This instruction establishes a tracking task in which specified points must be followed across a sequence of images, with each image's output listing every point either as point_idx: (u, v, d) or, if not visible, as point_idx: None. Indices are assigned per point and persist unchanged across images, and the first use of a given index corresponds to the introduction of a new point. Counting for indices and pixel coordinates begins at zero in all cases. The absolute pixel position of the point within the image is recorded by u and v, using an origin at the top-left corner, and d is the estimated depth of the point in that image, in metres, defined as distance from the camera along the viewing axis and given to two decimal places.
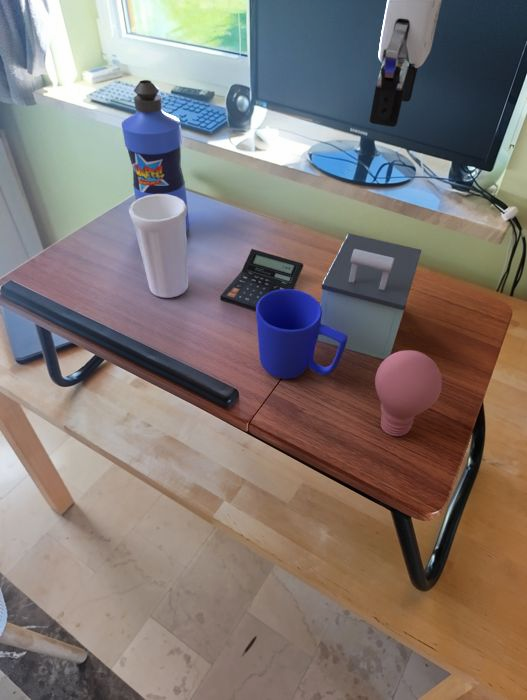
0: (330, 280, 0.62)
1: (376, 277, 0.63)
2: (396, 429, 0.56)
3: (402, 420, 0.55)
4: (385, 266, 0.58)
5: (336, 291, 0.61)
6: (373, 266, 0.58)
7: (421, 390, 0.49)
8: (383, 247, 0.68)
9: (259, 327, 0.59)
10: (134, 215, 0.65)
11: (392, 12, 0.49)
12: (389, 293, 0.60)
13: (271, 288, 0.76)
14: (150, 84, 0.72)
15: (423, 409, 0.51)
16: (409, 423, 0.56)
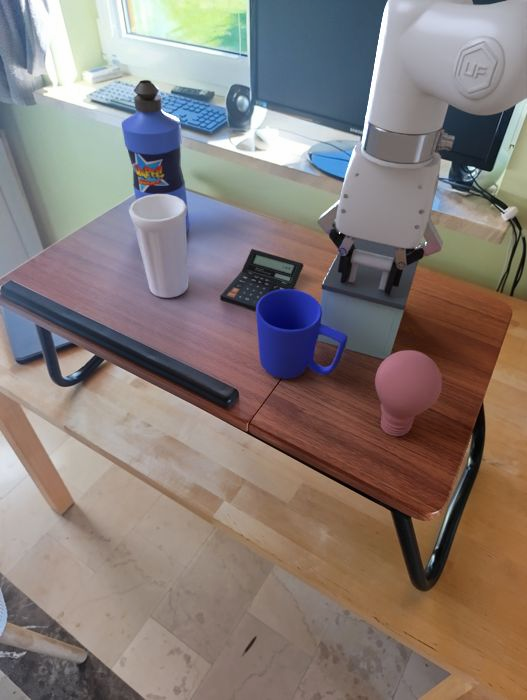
0: (330, 280, 0.62)
1: (376, 277, 0.63)
2: (396, 429, 0.56)
3: (402, 420, 0.55)
4: (385, 266, 0.58)
5: (336, 291, 0.61)
6: (373, 266, 0.58)
7: (421, 390, 0.49)
8: (383, 247, 0.68)
9: (259, 327, 0.59)
10: (134, 215, 0.65)
11: (427, 210, 0.51)
12: None
13: (271, 288, 0.76)
14: (150, 84, 0.72)
15: (423, 409, 0.51)
16: (409, 423, 0.56)
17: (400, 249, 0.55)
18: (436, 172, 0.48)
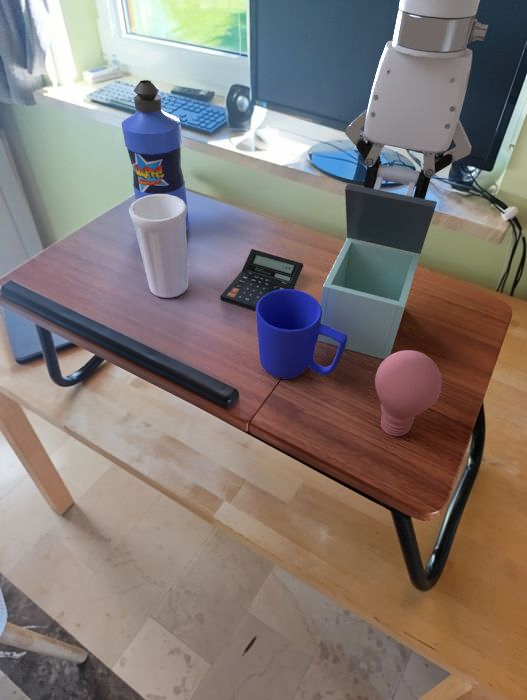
0: None
1: None
2: (396, 429, 0.56)
3: (402, 420, 0.55)
4: (413, 172, 0.58)
5: (361, 190, 0.57)
6: (401, 173, 0.58)
7: (421, 390, 0.49)
8: None
9: (259, 327, 0.59)
10: (134, 215, 0.65)
11: None
12: None
13: (271, 288, 0.76)
14: (150, 84, 0.72)
15: (423, 409, 0.51)
16: (409, 423, 0.56)
17: (429, 154, 0.55)
18: (468, 65, 0.49)
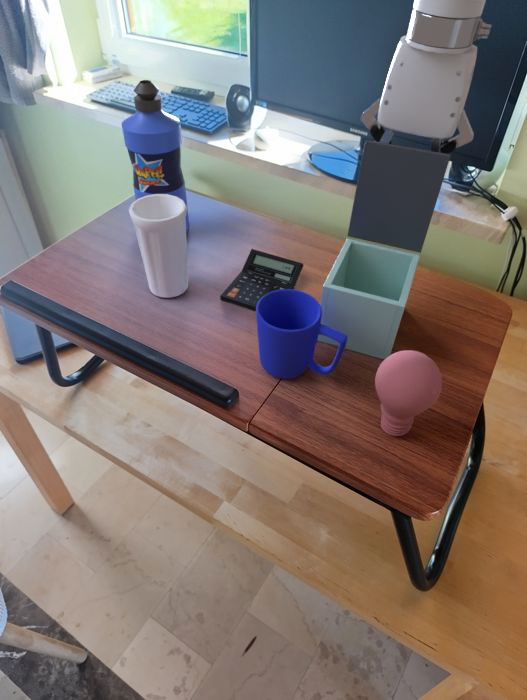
0: None
1: None
2: (396, 429, 0.56)
3: (402, 420, 0.55)
4: None
5: (380, 143, 0.61)
6: None
7: (421, 390, 0.49)
8: None
9: (259, 327, 0.59)
10: (134, 215, 0.65)
11: None
12: None
13: (271, 288, 0.76)
14: (150, 84, 0.72)
15: (423, 409, 0.51)
16: (409, 423, 0.56)
17: (435, 140, 0.61)
18: (473, 60, 0.55)
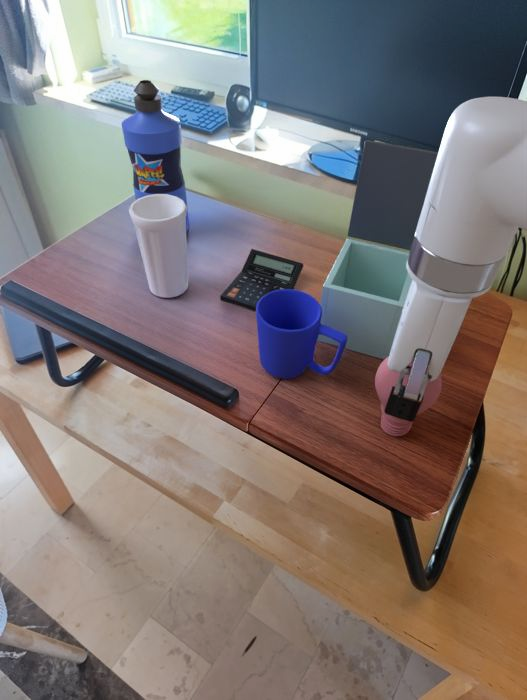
0: None
1: None
2: (396, 429, 0.56)
3: (402, 420, 0.55)
4: None
5: (380, 143, 0.61)
6: None
7: None
8: None
9: (259, 327, 0.59)
10: (134, 215, 0.65)
11: None
12: None
13: (271, 288, 0.76)
14: (150, 84, 0.72)
15: (423, 409, 0.51)
16: (409, 423, 0.56)
17: None
18: None
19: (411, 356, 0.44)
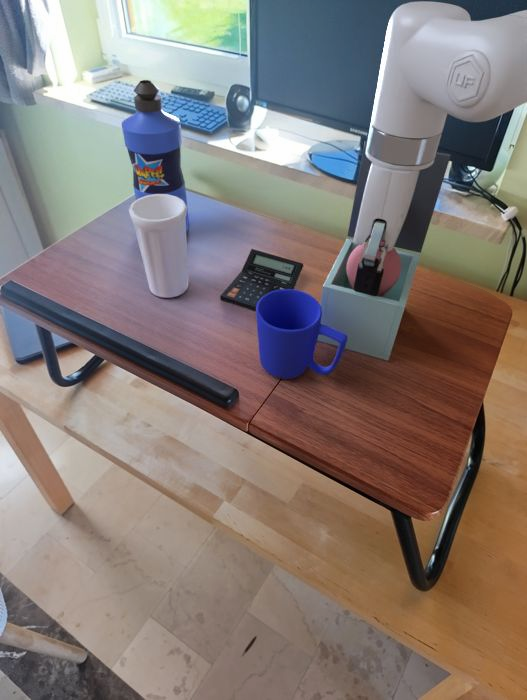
0: None
1: None
2: None
3: None
4: None
5: None
6: None
7: (383, 267, 0.60)
8: None
9: (259, 327, 0.59)
10: (134, 215, 0.65)
11: None
12: None
13: (271, 288, 0.76)
14: (150, 84, 0.72)
15: (385, 286, 0.62)
16: None
17: None
18: None
19: (370, 227, 0.54)
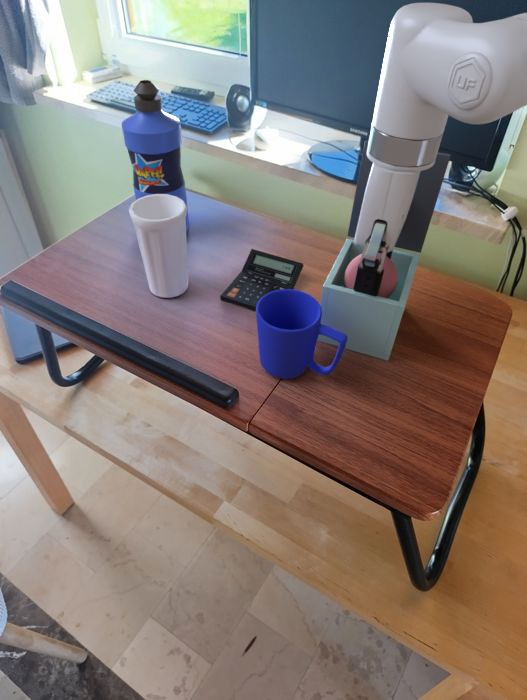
0: None
1: None
2: None
3: None
4: None
5: None
6: None
7: None
8: None
9: (259, 327, 0.59)
10: (134, 215, 0.65)
11: None
12: None
13: (271, 288, 0.76)
14: (150, 84, 0.72)
15: None
16: None
17: None
18: None
19: (371, 227, 0.54)
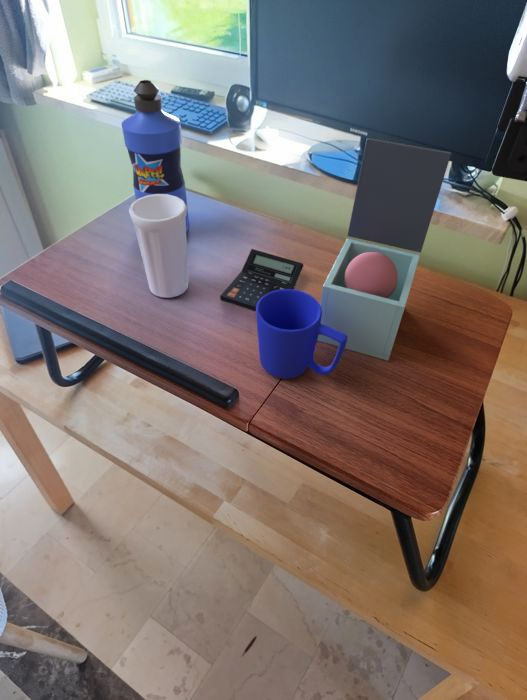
0: None
1: None
2: None
3: None
4: None
5: (382, 141, 0.62)
6: None
7: (379, 279, 0.61)
8: None
9: (259, 327, 0.59)
10: (134, 215, 0.65)
11: None
12: None
13: (271, 288, 0.76)
14: (150, 84, 0.72)
15: None
16: None
17: None
18: None
19: None
